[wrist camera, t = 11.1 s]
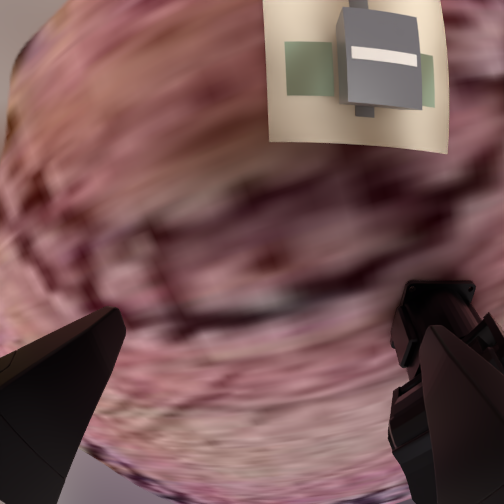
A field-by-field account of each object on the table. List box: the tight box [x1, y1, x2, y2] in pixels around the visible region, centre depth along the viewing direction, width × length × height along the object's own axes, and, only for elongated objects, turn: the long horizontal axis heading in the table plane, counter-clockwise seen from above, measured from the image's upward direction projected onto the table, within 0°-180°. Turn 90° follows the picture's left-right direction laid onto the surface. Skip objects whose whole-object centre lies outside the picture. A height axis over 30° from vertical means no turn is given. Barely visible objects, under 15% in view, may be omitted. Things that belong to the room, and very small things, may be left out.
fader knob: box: [336, 7, 422, 110], centre depth 11 cm, size 3×4×4 cm
